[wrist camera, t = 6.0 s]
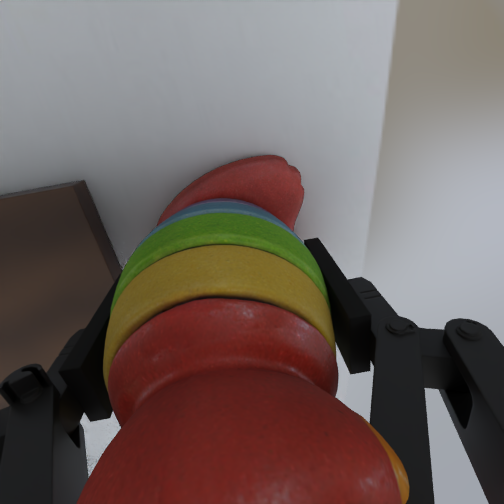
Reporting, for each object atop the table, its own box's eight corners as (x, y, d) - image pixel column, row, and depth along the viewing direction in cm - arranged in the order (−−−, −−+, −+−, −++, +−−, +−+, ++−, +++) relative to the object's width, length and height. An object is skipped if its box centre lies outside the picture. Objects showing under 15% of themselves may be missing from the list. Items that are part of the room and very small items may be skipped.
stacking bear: (312, 298, 22) (536, 806, 6) (178, 323, 22) (53, 886, 6) (298, 147, 17) (1219, 699, 1) (126, 180, 17) (-1080, 1081, 1)
